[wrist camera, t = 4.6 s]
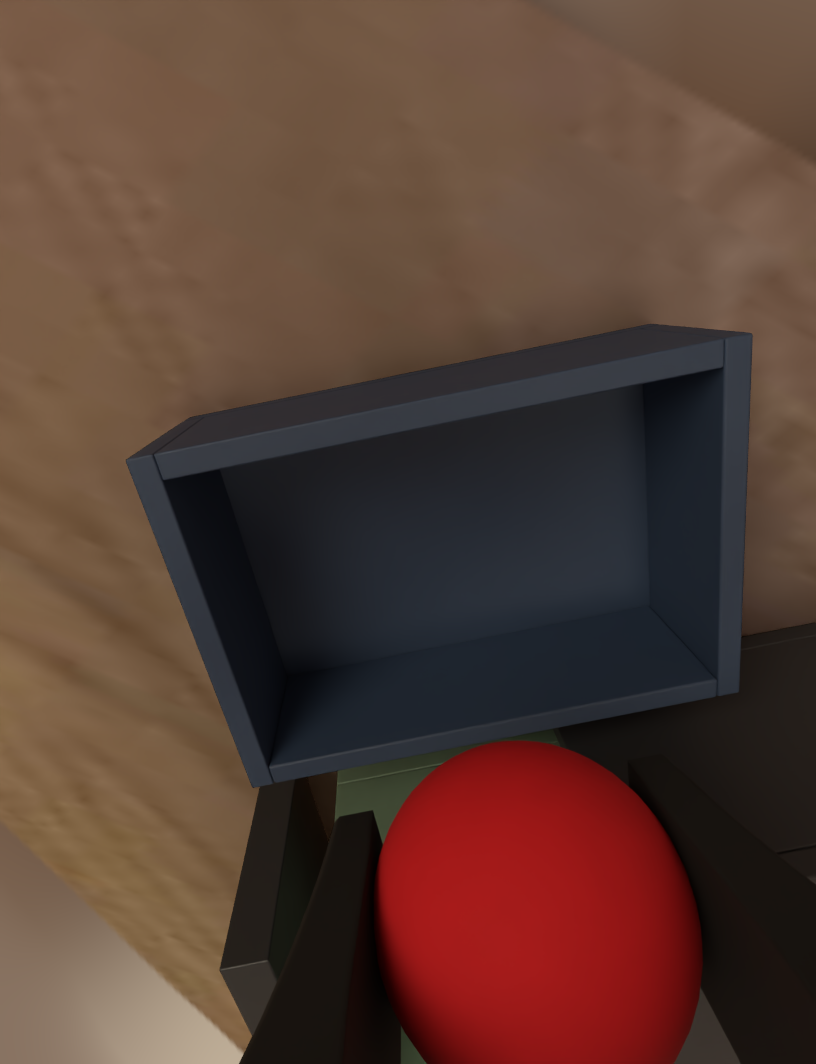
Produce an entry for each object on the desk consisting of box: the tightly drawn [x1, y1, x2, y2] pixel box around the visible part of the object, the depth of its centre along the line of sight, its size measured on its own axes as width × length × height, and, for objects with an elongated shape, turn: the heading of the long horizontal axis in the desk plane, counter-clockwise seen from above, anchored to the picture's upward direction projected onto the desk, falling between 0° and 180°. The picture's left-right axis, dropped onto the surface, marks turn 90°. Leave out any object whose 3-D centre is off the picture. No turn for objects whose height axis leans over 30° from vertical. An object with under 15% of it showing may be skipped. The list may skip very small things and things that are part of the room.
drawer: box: [220, 729, 560, 1064], centre depth 19 cm, size 14×11×7 cm
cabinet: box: [553, 623, 816, 1064], centre depth 19 cm, size 13×12×8 cm
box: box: [126, 324, 753, 788], centre depth 16 cm, size 13×9×5 cm
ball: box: [374, 741, 703, 1064], centre depth 9 cm, size 5×5×5 cm
